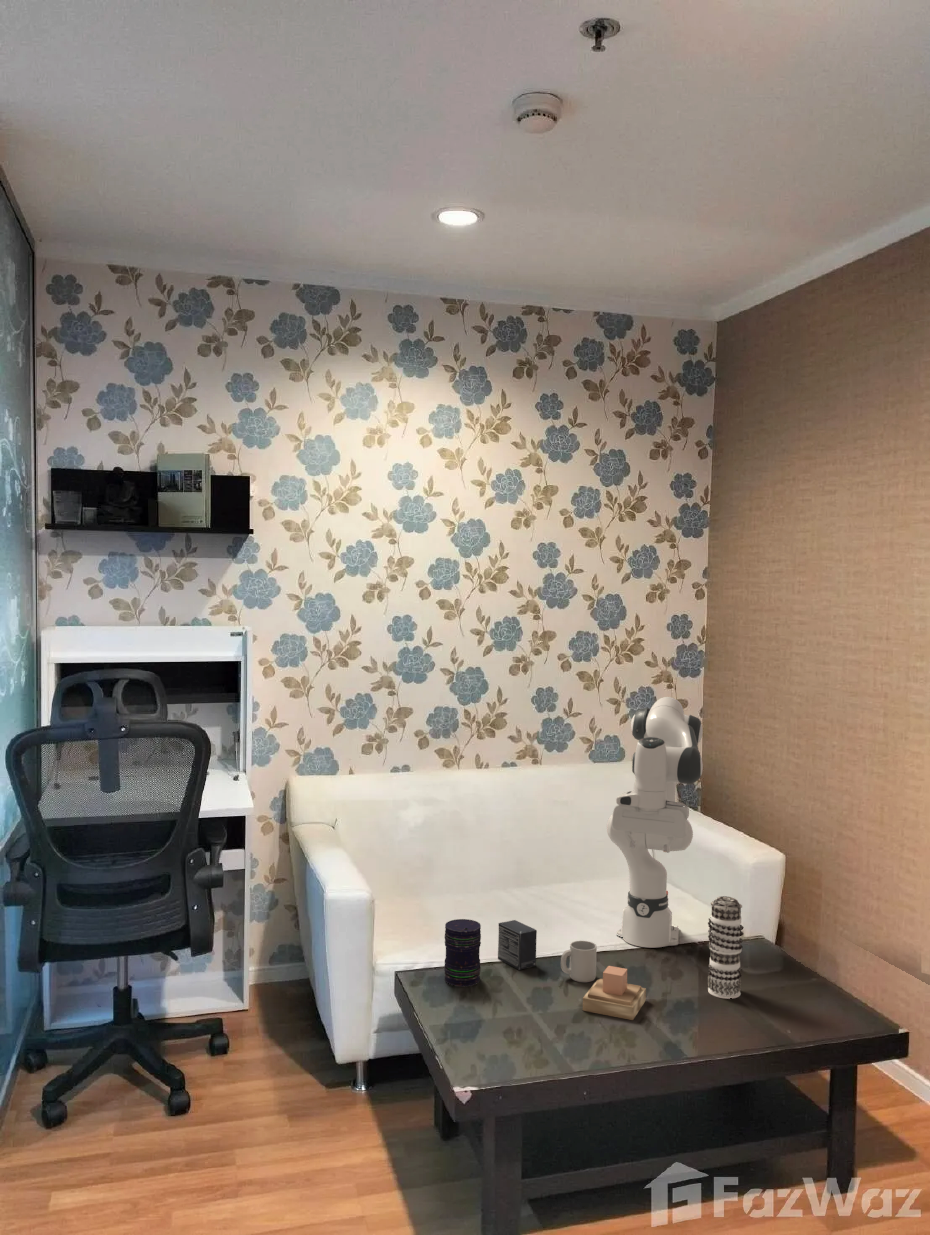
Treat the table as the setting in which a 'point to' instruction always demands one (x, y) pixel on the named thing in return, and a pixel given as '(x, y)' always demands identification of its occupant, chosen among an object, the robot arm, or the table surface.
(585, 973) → the cup
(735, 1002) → the table surface
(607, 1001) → the plinth
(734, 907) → the decorative candle
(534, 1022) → the table surface
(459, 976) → the storage jar
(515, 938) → the small box
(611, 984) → the cube
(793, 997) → the table surface
